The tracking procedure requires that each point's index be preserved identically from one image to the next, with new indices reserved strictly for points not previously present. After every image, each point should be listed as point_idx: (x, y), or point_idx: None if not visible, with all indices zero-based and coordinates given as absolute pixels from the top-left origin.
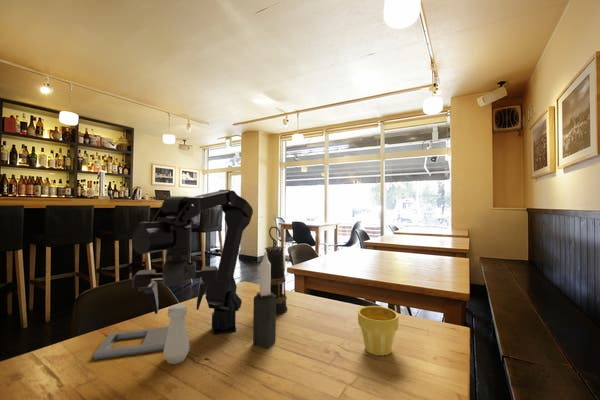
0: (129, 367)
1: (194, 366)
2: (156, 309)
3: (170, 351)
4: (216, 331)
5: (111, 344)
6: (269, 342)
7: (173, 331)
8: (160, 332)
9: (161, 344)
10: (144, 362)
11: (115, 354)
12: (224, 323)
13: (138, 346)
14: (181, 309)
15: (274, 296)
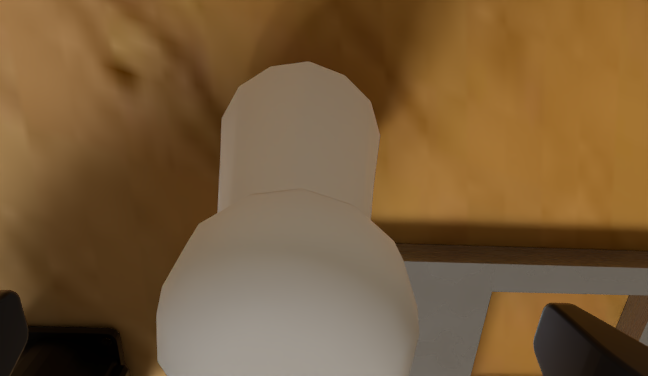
0: (537, 126)
1: (189, 8)
2: (597, 339)
3: (336, 81)
4: (99, 340)
5: None
6: None
7: (324, 144)
8: None
9: None
10: (466, 151)
11: (604, 256)
12: (28, 373)
13: (508, 276)
14: (215, 270)
15: None
